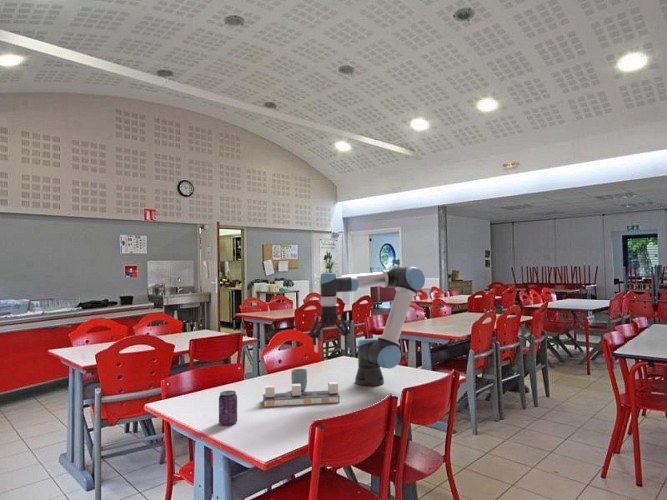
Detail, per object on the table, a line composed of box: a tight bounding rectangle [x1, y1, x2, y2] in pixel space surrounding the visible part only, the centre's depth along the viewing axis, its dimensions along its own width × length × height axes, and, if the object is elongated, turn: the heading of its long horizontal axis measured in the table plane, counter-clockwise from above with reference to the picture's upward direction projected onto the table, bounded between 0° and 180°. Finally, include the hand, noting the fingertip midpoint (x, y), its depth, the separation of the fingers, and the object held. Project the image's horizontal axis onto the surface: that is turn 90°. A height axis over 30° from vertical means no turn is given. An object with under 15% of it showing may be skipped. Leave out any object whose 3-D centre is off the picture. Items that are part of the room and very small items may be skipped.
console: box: [262, 390, 340, 408], centre depth 205 cm, size 34×10×3 cm, turn 100°
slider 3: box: [327, 381, 339, 394], centre depth 208 cm, size 4×4×4 cm
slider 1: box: [264, 384, 276, 397], centre depth 203 cm, size 4×4×4 cm
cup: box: [290, 368, 308, 392], centre depth 224 cm, size 8×8×10 cm
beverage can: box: [218, 390, 238, 426], centre depth 177 cm, size 7×7×12 cm
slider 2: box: [291, 383, 302, 396], centre depth 205 cm, size 4×4×4 cm
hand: (329, 350), depth 212 cm, fingers open, 13 cm apart
